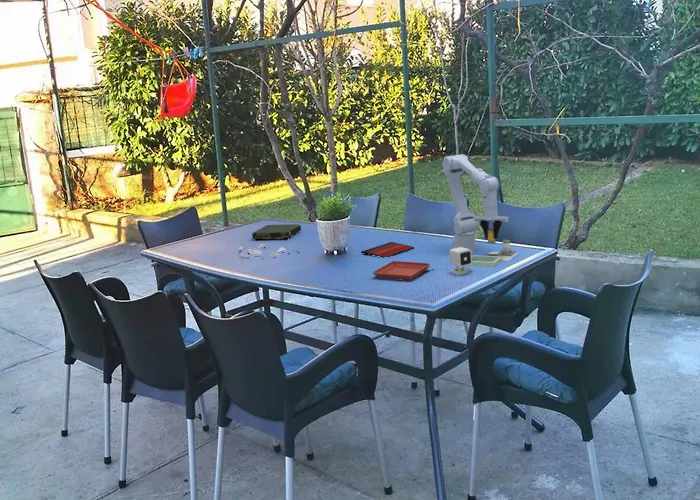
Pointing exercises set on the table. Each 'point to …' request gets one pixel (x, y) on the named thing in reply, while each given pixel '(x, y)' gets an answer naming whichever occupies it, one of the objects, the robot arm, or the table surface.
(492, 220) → the robot arm
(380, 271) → the plant saucer
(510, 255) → the fuse block
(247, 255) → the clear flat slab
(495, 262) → the parts tray
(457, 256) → the security camera
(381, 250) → the binder
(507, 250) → the grey fuse
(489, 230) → the amber fuse
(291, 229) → the network switch
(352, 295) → the table surface
